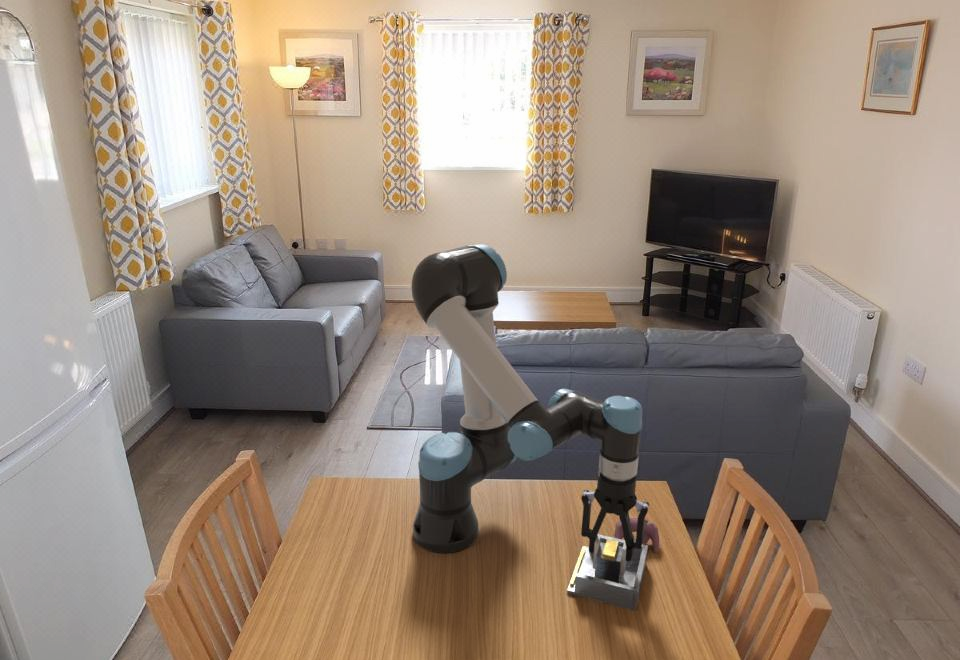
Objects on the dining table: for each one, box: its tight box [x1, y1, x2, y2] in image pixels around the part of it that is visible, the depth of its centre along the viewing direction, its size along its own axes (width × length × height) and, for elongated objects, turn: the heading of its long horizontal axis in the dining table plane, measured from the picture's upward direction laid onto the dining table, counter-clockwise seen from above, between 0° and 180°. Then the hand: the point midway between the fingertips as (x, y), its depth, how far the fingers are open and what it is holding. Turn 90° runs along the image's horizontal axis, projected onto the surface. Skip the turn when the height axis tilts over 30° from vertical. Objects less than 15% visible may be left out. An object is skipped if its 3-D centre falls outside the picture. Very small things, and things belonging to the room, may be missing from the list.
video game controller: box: [614, 517, 660, 554], centre depth 156 cm, size 10×5×7 cm, turn 85°
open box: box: [566, 533, 649, 612], centre depth 145 cm, size 14×15×5 cm
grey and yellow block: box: [595, 539, 623, 583], centre depth 144 cm, size 5×5×7 cm
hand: (609, 567), depth 145 cm, fingers closed on grey and yellow block, 5 cm apart
